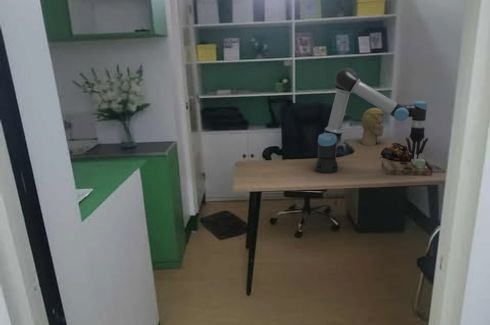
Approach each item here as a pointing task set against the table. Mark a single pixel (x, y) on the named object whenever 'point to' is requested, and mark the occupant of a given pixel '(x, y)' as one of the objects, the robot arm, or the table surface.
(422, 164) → the block
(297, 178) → the table surface
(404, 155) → the character figurine
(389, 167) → the board
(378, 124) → the bust
